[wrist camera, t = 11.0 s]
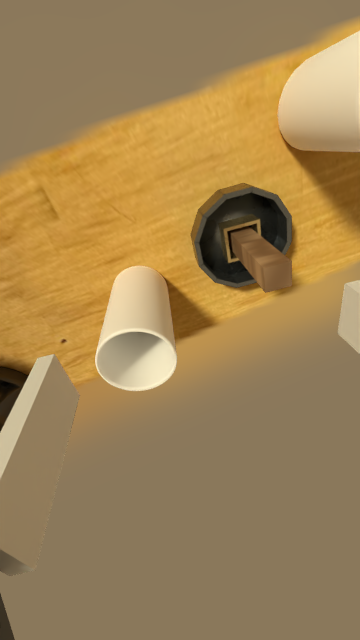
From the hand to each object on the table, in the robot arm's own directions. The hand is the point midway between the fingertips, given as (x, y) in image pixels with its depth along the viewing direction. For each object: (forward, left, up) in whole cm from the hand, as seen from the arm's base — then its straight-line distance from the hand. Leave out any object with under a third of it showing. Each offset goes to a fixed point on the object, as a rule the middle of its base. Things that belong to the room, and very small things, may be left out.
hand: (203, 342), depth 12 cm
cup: (-7, -10, -27) cm, 30 cm away
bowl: (+9, -5, -27) cm, 29 cm away
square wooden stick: (+9, -5, -27) cm, 28 cm away
